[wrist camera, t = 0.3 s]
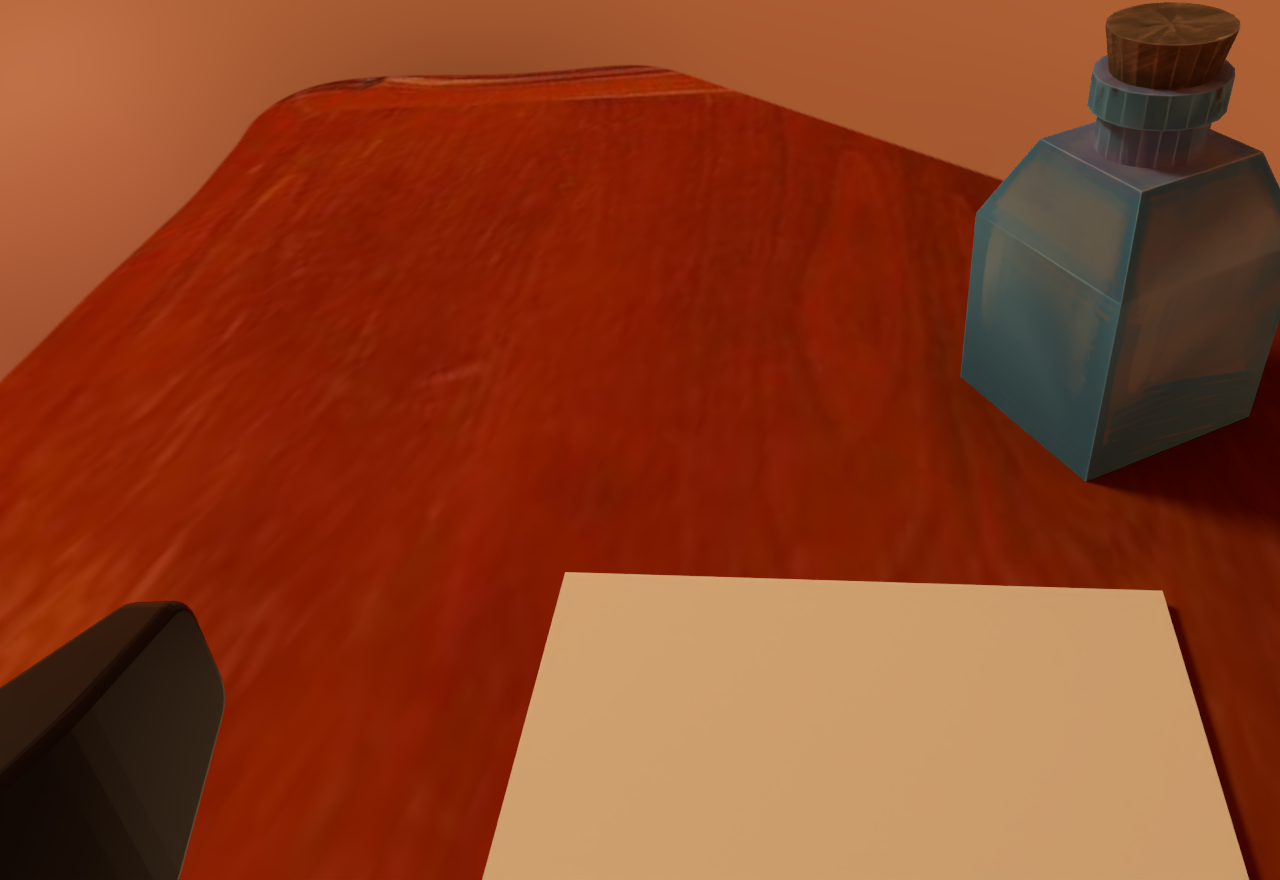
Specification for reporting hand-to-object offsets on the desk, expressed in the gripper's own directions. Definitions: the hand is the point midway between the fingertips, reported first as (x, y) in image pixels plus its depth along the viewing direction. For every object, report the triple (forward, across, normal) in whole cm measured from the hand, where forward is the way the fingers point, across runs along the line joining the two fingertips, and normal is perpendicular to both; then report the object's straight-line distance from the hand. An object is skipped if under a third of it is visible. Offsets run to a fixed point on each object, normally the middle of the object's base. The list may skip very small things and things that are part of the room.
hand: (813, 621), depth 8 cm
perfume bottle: (+26, -11, +14) cm, 31 cm away
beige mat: (+10, -1, +16) cm, 18 cm away
